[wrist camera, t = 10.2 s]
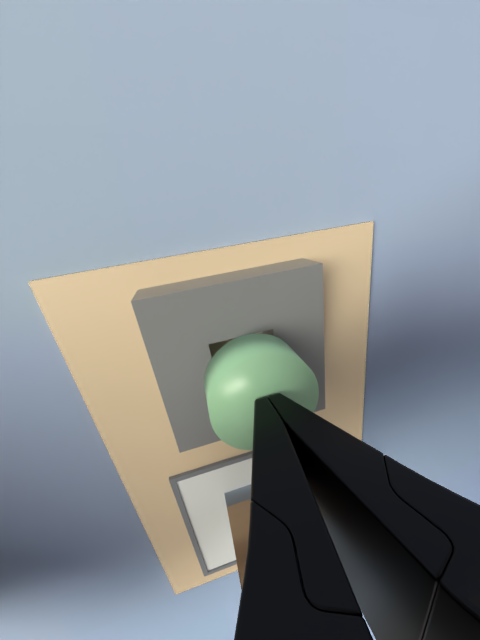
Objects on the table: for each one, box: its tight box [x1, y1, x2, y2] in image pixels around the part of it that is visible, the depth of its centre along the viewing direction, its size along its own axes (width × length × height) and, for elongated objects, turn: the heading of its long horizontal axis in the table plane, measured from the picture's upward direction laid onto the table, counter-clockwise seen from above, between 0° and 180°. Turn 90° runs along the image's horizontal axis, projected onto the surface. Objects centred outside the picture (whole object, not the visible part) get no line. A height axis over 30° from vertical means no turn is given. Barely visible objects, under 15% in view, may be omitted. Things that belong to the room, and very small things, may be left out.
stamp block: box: [224, 484, 251, 589], centre depth 14 cm, size 4×4×5 cm
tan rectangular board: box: [28, 222, 374, 594], centre depth 14 cm, size 22×14×1 cm, turn 8°
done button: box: [204, 333, 319, 451], centre depth 10 cm, size 4×4×4 cm
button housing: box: [131, 258, 325, 453], centre depth 11 cm, size 7×7×2 cm
